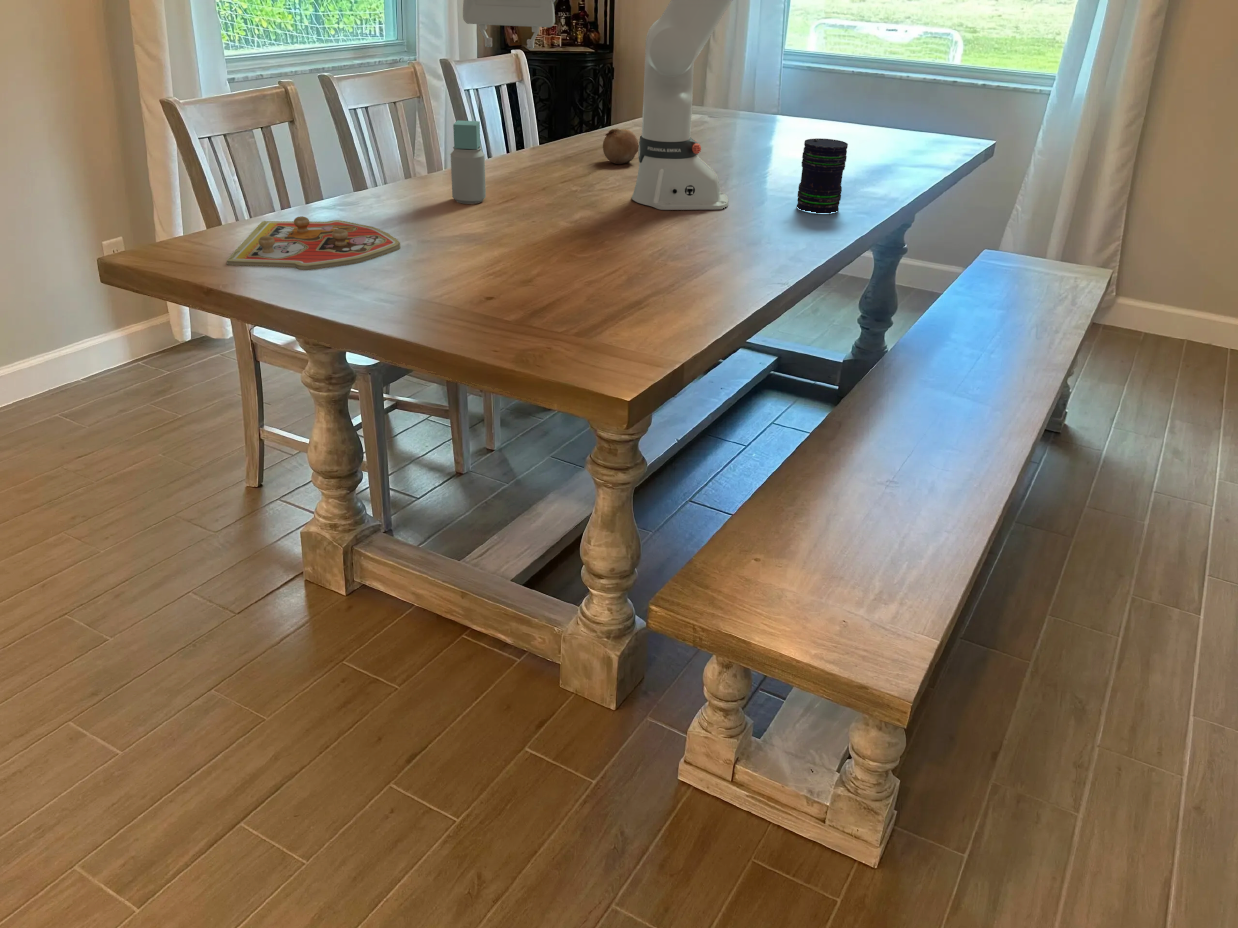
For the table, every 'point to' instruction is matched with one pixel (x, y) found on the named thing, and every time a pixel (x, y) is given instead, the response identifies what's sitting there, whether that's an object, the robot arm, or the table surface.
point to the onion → (620, 146)
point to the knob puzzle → (312, 244)
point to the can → (468, 175)
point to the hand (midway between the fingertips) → (509, 47)
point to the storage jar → (822, 175)
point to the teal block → (466, 134)
